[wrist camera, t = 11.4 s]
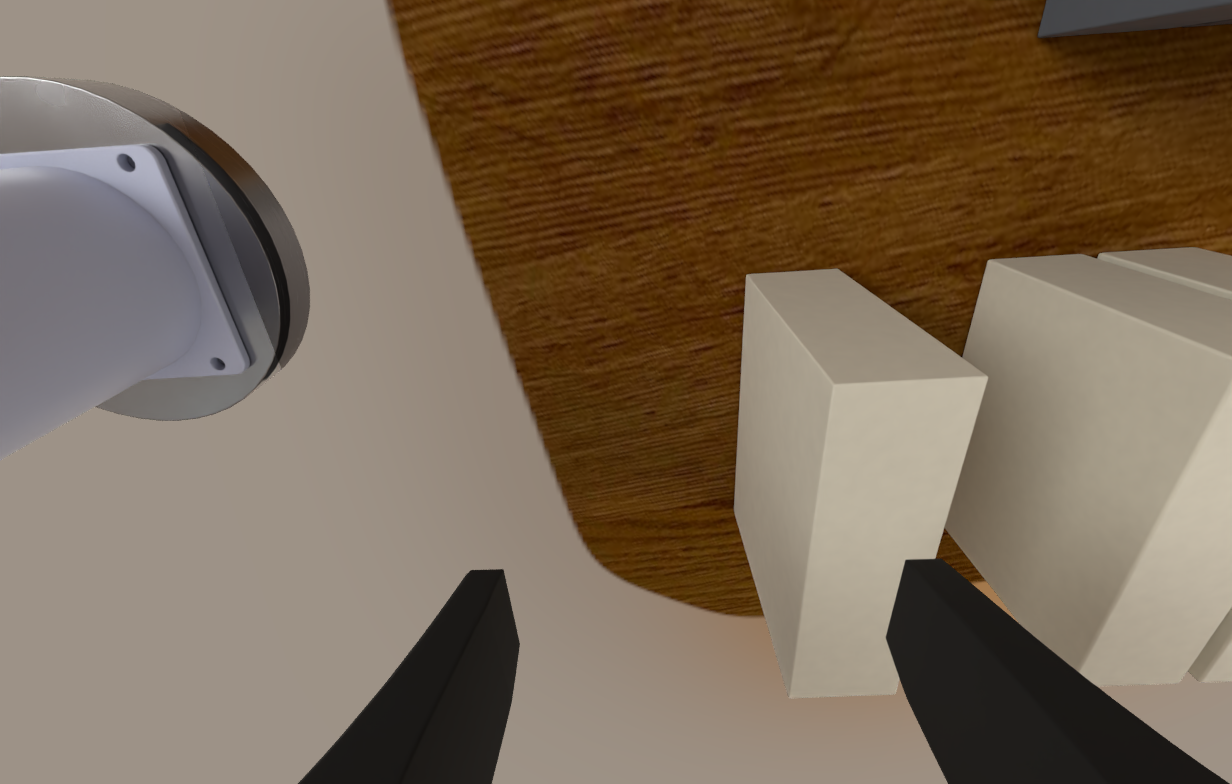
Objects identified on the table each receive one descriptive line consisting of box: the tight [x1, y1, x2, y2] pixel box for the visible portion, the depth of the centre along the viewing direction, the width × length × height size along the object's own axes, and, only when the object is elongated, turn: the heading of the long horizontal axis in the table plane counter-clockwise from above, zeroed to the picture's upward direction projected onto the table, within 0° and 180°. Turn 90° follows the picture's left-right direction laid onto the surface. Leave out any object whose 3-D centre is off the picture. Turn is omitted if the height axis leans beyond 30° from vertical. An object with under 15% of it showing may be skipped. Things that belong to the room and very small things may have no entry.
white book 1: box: [734, 269, 988, 698], centre depth 16 cm, size 3×10×8 cm, turn 4°
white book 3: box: [1097, 247, 1232, 683], centre depth 16 cm, size 3×10×8 cm, turn 4°
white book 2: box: [944, 254, 1232, 686], centre depth 16 cm, size 3×10×8 cm, turn 4°
